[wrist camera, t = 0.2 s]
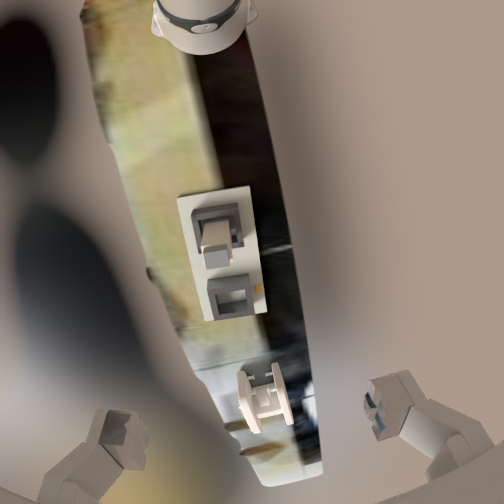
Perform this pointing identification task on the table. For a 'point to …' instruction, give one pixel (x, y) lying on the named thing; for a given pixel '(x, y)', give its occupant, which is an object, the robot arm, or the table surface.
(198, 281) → the panel
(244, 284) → the box
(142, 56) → the table surface
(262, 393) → the cable organizer
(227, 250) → the plug
